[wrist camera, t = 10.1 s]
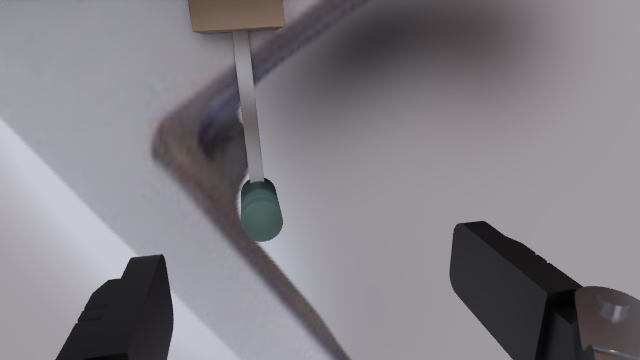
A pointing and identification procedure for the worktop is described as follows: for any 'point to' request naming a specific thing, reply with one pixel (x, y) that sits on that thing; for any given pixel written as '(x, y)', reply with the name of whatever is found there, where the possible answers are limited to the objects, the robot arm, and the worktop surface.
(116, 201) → the worktop surface
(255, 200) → the mallet
